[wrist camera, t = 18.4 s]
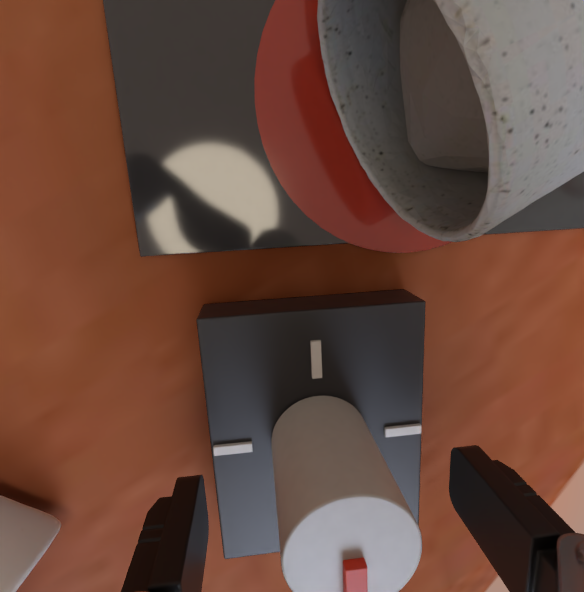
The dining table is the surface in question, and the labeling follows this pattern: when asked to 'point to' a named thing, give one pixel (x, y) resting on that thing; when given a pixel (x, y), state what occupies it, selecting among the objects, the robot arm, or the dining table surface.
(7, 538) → the spoon rest
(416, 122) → the ceramic mug
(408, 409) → the control box
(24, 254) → the dining table surface
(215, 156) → the hob
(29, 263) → the dining table surface
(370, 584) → the hob knob
